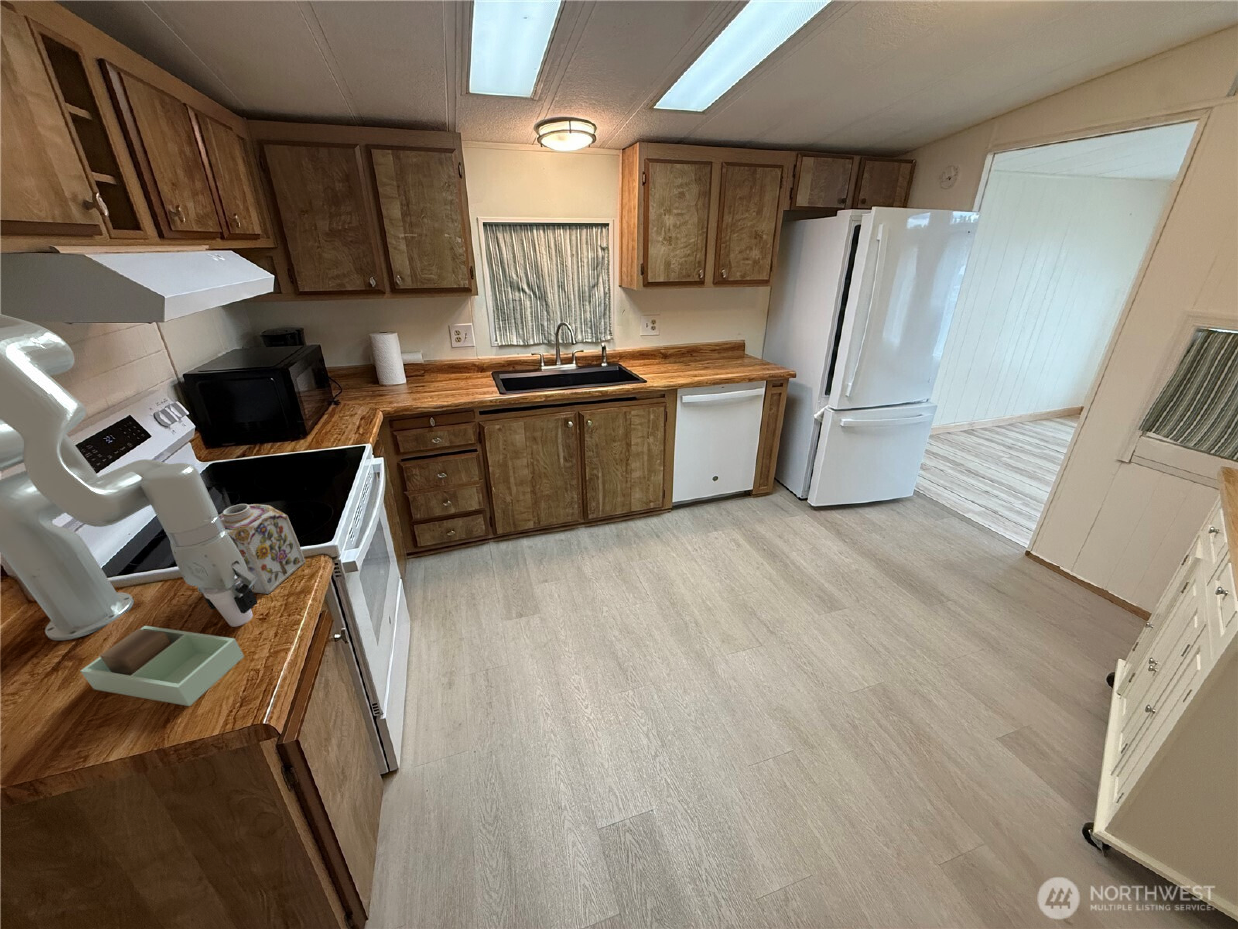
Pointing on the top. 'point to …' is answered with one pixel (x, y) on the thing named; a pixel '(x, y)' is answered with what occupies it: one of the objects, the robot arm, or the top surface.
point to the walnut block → (135, 651)
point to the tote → (172, 669)
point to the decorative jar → (264, 543)
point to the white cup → (228, 605)
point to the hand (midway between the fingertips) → (234, 605)
